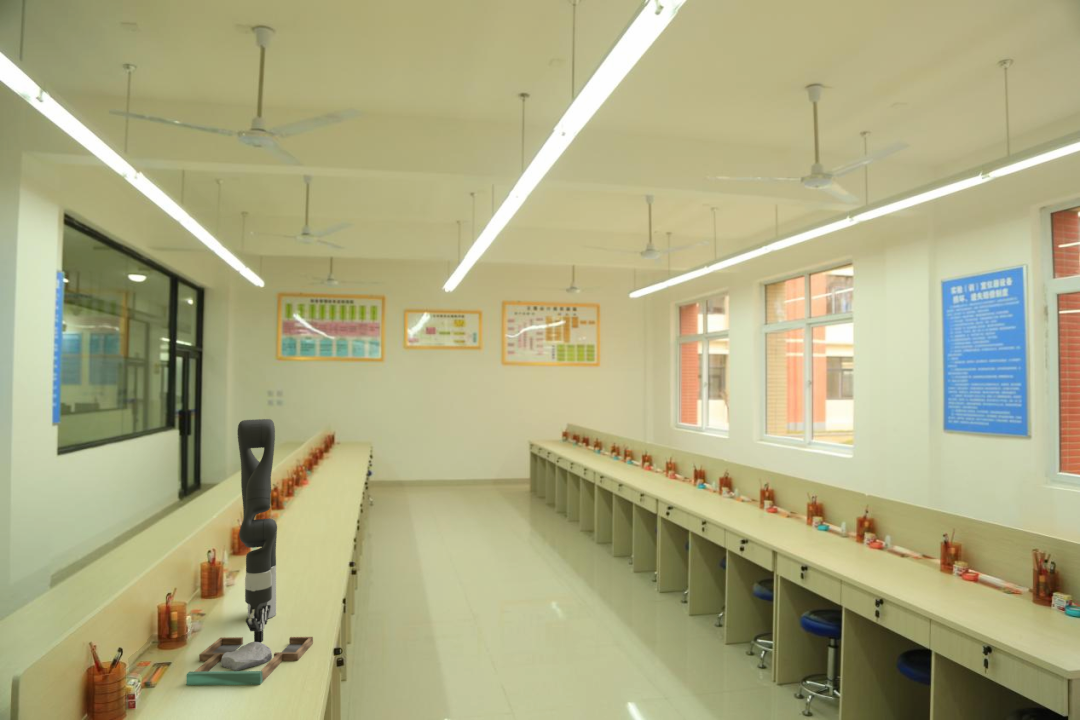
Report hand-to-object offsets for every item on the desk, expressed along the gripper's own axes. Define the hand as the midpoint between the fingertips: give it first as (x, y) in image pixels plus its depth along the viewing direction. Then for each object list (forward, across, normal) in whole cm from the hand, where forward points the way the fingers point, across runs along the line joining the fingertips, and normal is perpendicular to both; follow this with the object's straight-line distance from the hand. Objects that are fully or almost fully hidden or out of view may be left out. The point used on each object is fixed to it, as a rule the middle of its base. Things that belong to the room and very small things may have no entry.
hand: (258, 642), depth 205 cm
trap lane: (+2, +8, 0) cm, 8 cm away
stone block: (+3, +8, 0) cm, 9 cm away
